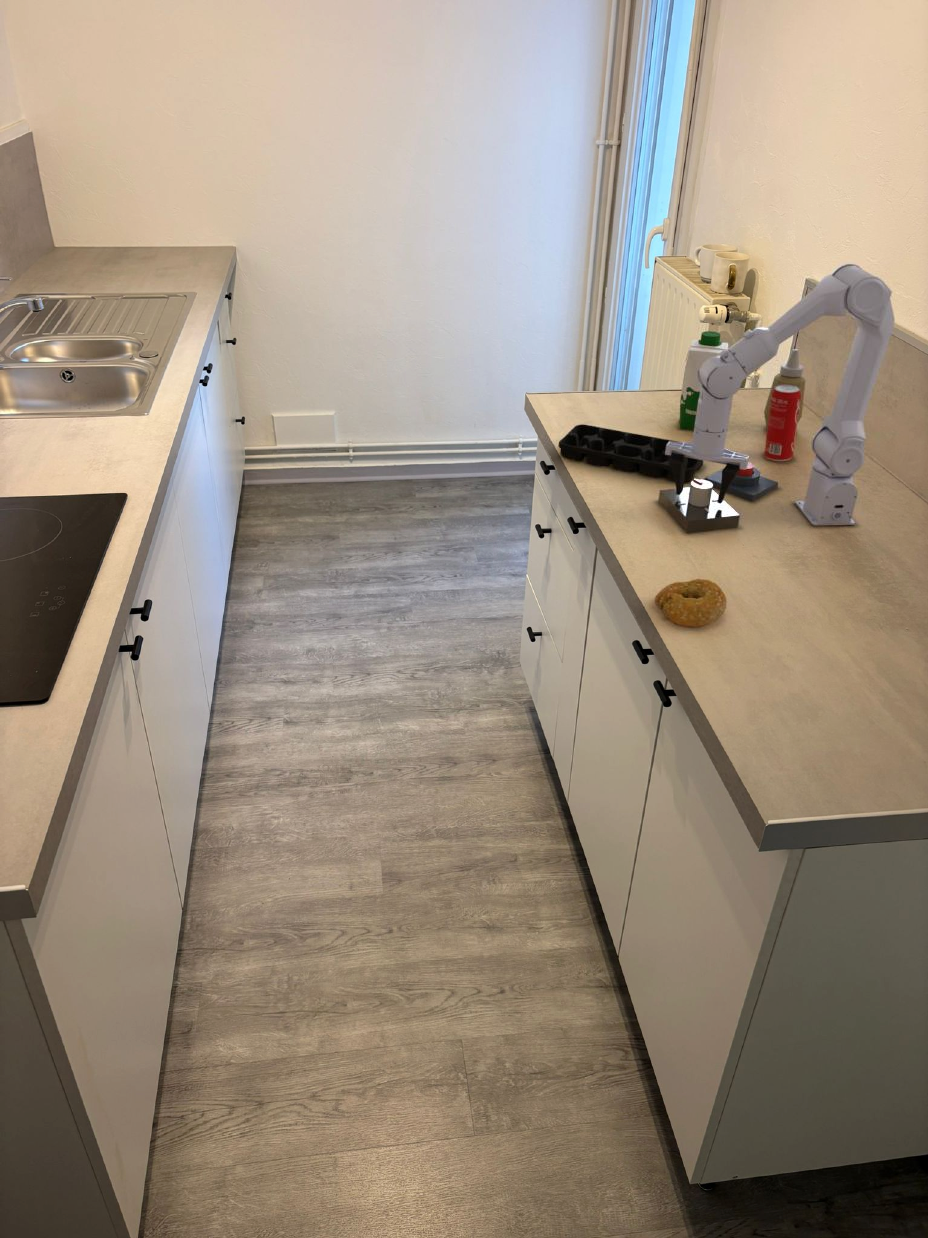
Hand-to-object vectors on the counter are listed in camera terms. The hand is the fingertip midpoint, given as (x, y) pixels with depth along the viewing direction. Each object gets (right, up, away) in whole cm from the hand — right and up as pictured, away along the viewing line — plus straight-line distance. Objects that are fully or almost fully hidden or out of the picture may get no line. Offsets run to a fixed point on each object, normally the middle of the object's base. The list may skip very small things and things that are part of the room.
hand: (699, 496), depth 177 cm
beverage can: (+22, +11, +25) cm, 36 cm away
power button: (+11, +6, +11) cm, 17 cm away
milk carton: (+9, +21, +40) cm, 46 cm away
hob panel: (0, -3, +2) cm, 4 cm away
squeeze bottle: (+27, +20, +38) cm, 51 cm away
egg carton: (-9, +10, +22) cm, 26 cm away
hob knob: (0, -1, +1) cm, 1 cm away
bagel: (-8, -22, -26) cm, 35 cm away
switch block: (+11, +4, +13) cm, 17 cm away
